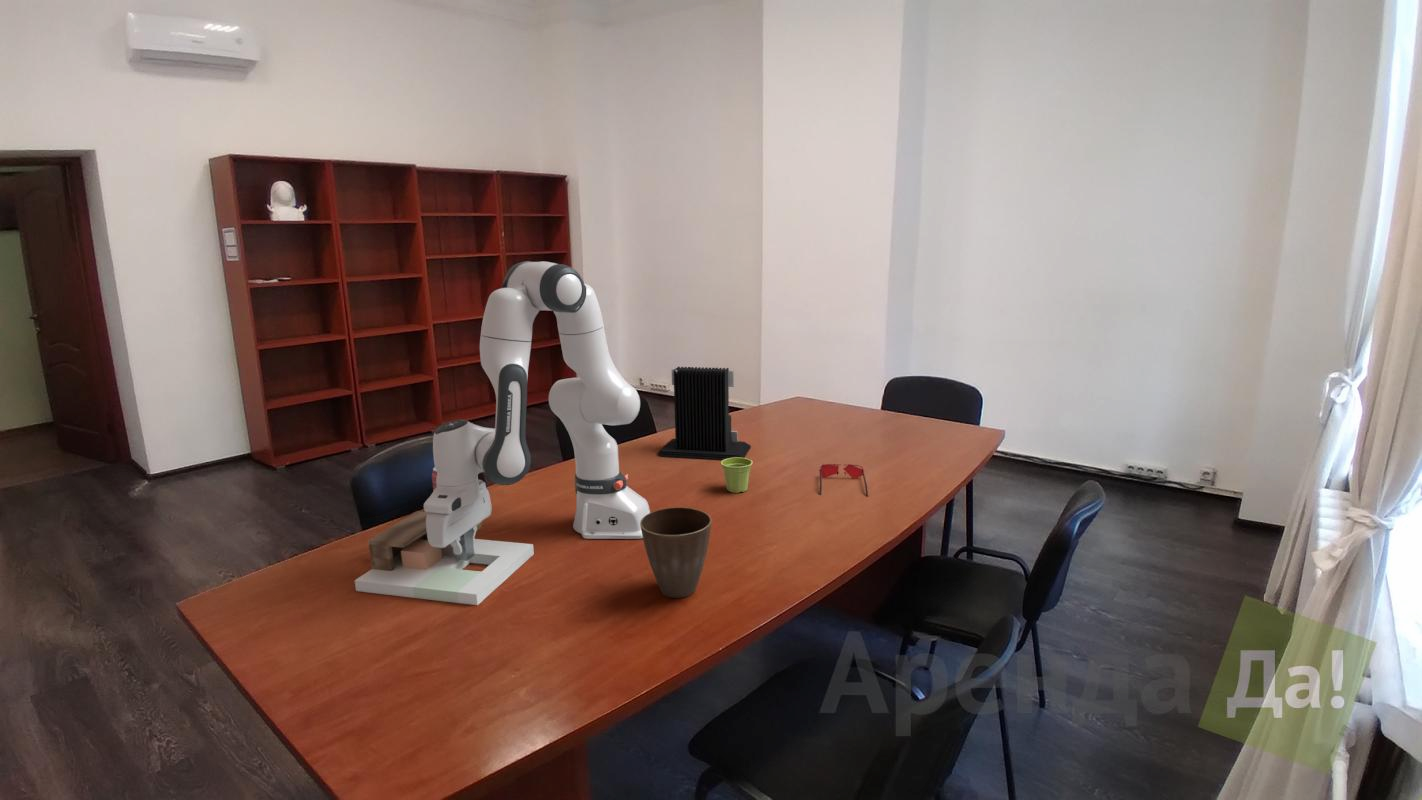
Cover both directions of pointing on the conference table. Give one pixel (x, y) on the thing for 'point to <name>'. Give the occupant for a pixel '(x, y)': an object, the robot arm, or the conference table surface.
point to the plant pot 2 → (736, 473)
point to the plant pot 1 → (676, 547)
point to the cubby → (396, 540)
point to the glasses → (850, 469)
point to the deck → (450, 575)
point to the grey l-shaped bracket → (464, 540)
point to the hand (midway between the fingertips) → (464, 549)
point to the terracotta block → (420, 555)
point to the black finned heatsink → (703, 416)
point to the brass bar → (478, 526)
